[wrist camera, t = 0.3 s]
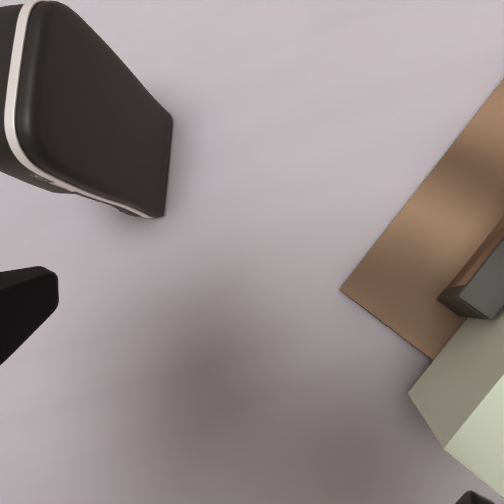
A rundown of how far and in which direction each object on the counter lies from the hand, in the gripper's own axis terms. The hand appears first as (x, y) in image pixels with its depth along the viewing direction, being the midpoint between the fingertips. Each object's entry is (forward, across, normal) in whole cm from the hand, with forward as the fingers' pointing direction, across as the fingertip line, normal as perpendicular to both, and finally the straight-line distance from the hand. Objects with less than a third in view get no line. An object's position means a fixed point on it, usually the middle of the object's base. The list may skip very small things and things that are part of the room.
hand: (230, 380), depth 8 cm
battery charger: (+15, +13, +4) cm, 21 cm away
